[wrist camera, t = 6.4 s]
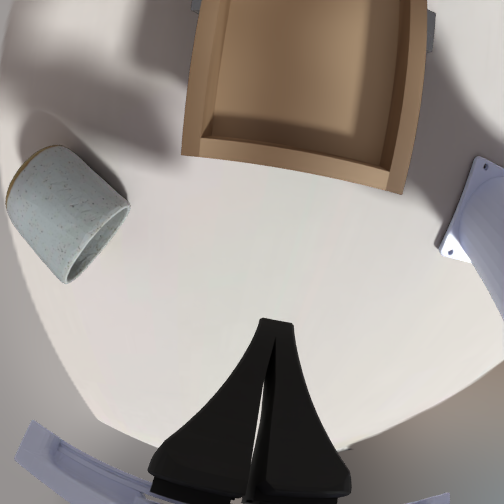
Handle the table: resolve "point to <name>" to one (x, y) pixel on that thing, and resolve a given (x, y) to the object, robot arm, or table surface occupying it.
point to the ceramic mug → (64, 210)
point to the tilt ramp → (309, 86)
